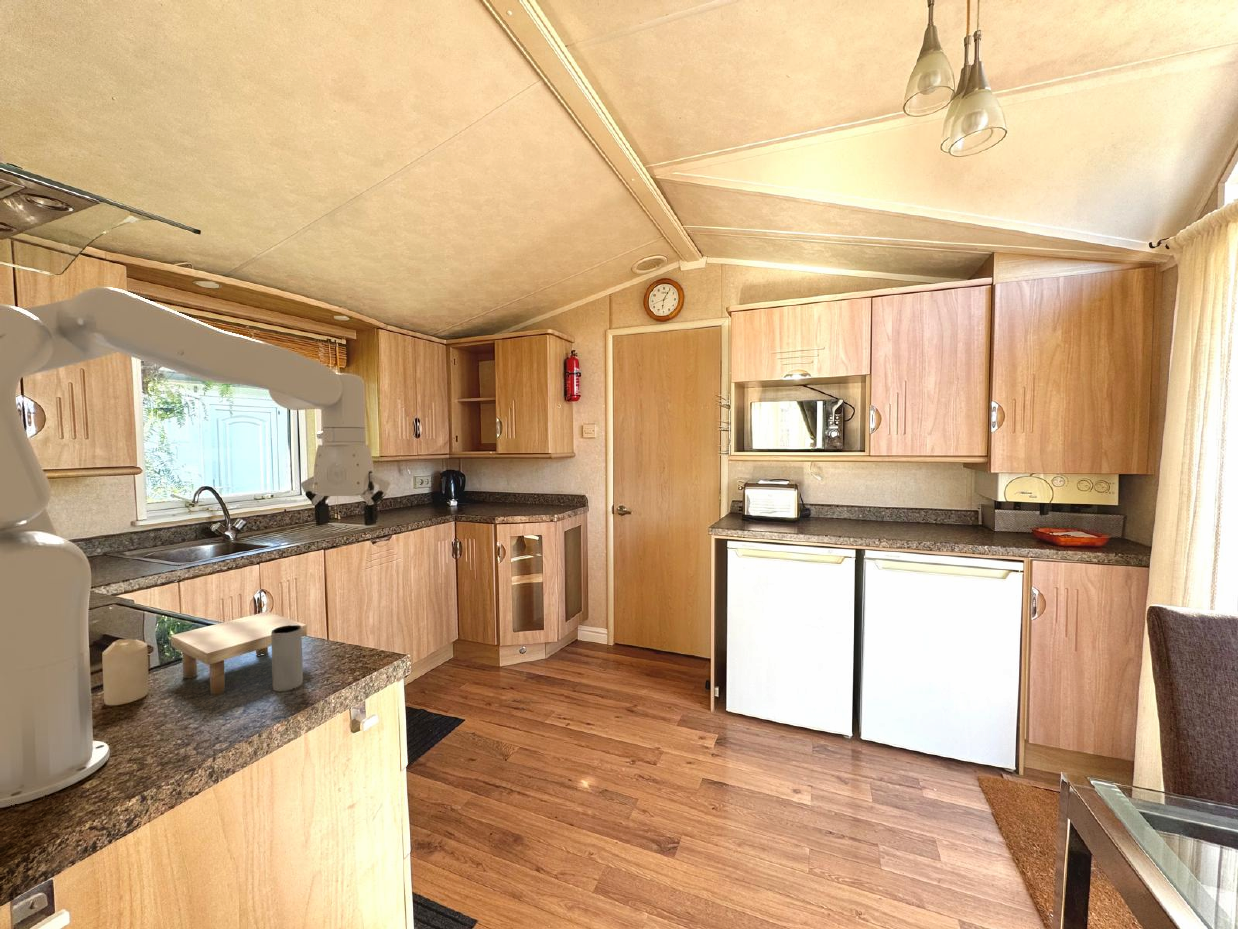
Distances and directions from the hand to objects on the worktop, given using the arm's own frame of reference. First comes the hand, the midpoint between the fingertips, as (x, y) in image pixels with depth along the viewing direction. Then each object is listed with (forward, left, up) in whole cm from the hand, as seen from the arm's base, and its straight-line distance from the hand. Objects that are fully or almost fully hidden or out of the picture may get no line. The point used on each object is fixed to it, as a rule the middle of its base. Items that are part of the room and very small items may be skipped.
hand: (346, 524), depth 100 cm
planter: (-11, 0, -28) cm, 30 cm away
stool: (-13, +14, -28) cm, 34 cm away
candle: (-28, +19, -28) cm, 44 cm away
